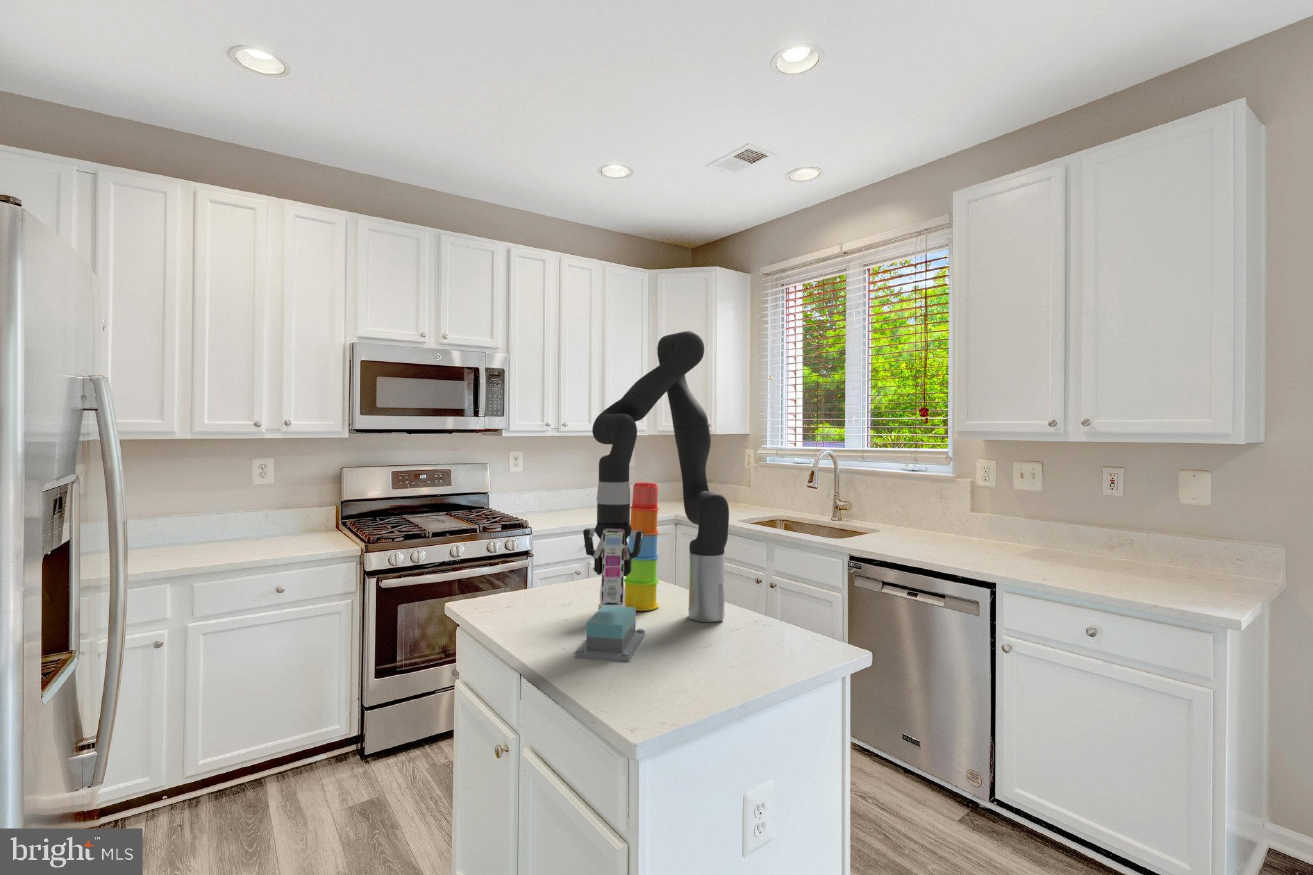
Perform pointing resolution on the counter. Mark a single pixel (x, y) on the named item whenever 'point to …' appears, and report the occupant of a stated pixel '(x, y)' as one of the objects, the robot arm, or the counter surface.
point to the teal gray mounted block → (611, 635)
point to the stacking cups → (643, 549)
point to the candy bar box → (612, 566)
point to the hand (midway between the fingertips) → (612, 574)
